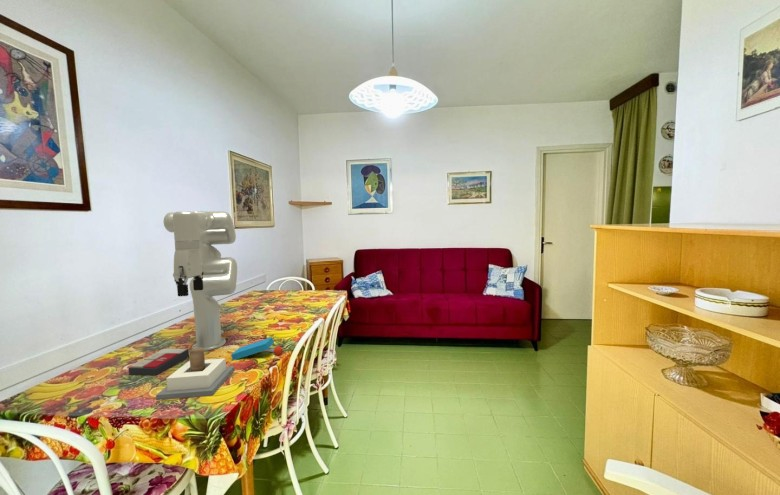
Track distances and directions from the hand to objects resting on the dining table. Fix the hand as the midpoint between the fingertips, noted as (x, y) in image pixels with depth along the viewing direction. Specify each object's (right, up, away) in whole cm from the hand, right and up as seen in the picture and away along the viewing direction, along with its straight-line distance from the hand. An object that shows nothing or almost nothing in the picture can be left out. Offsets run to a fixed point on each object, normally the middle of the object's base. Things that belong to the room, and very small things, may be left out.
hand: (191, 292), depth 105 cm
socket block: (+9, -29, -9) cm, 31 cm away
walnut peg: (+9, -27, -10) cm, 30 cm away
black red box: (-15, -29, +5) cm, 33 cm away
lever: (+19, -28, +12) cm, 36 cm away
